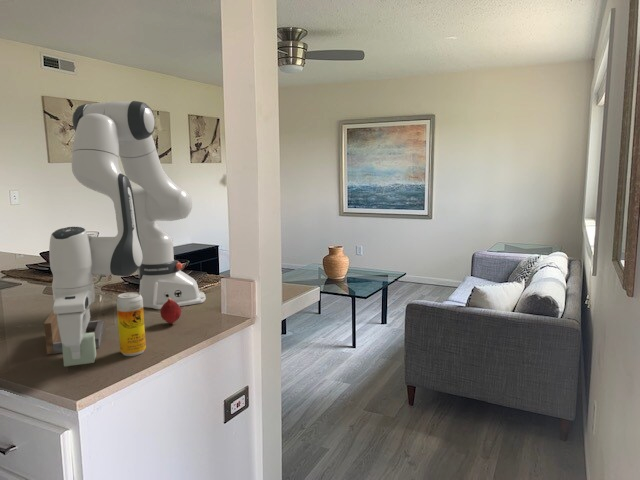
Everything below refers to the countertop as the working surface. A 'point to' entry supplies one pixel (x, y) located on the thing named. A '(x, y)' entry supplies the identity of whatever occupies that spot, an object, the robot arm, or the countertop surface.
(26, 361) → the countertop surface
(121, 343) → the beer can
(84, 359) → the cabinet block
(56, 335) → the grey and wood frame
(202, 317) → the countertop surface
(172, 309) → the onion
